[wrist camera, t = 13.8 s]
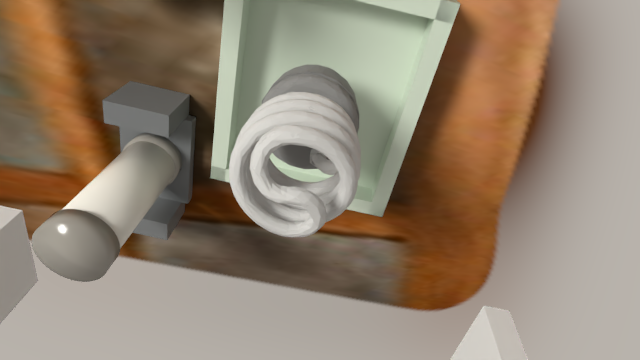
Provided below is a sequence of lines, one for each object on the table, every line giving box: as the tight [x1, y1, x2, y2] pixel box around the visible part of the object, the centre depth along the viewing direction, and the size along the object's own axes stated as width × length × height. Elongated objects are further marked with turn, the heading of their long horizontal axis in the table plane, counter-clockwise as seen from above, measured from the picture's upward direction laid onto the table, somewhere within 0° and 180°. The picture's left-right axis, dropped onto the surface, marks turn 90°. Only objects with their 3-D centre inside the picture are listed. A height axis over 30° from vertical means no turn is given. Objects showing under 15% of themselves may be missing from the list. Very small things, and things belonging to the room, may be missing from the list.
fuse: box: [32, 133, 182, 282], centre depth 26 cm, size 4×4×10 cm
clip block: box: [103, 81, 196, 240], centre depth 25 cm, size 5×27×4 cm, turn 168°
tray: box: [210, 0, 460, 217], centre depth 26 cm, size 12×14×2 cm
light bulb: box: [229, 64, 361, 237], centre depth 21 cm, size 6×6×12 cm
